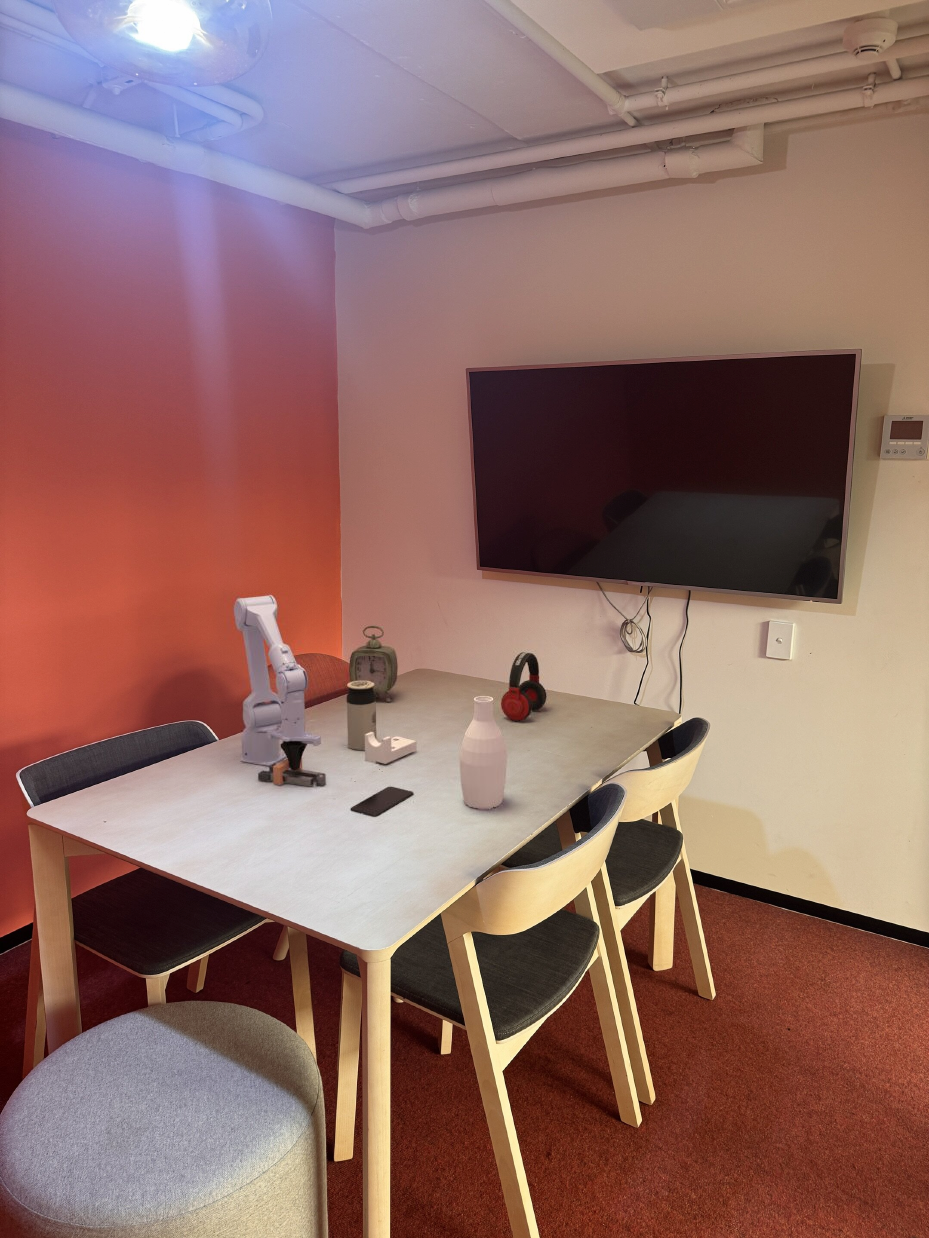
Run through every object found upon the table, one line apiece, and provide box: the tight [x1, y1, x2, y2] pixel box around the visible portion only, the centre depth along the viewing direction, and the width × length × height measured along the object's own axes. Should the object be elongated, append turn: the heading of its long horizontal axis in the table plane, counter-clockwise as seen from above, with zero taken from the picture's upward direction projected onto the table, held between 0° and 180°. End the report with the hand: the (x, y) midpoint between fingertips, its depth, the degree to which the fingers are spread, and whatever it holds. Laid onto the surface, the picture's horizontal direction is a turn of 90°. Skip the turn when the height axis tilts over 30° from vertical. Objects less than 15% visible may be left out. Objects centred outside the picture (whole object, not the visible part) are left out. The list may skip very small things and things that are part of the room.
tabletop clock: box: [348, 625, 399, 703], centre depth 286 cm, size 14×9×25 cm, turn 81°
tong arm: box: [257, 770, 315, 787], centre depth 216 cm, size 14×2×2 cm, turn 71°
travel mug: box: [346, 681, 377, 751], centre depth 242 cm, size 8×8×18 cm
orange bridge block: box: [273, 757, 303, 786], centre depth 219 cm, size 2×10×4 cm, turn 156°
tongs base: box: [268, 763, 327, 788], centre depth 219 cm, size 17×4×3 cm, turn 67°
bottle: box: [459, 695, 508, 810], centre depth 202 cm, size 11×11×25 cm
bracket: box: [364, 732, 418, 765], centre depth 235 cm, size 13×7×8 cm, turn 144°
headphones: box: [500, 651, 547, 722], centre depth 270 cm, size 18×10×20 cm, turn 153°
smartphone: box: [350, 786, 414, 818], centre depth 205 cm, size 8×1×16 cm
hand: (295, 768), depth 218 cm, fingers closed
